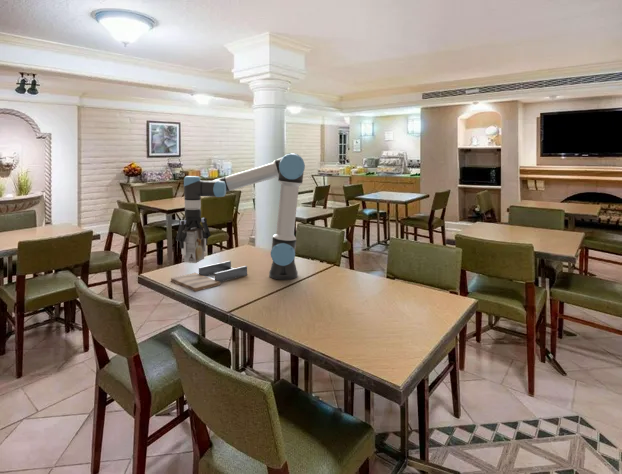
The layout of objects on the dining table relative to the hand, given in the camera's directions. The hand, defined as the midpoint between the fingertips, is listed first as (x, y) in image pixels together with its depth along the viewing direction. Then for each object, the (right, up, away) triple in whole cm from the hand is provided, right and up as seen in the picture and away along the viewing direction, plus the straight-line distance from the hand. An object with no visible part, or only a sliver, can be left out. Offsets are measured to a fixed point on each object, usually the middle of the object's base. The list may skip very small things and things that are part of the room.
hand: (194, 252), depth 204 cm
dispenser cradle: (+11, -13, +16) cm, 23 cm away
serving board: (0, -15, +3) cm, 15 cm away
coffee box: (0, -4, +1) cm, 4 cm away
